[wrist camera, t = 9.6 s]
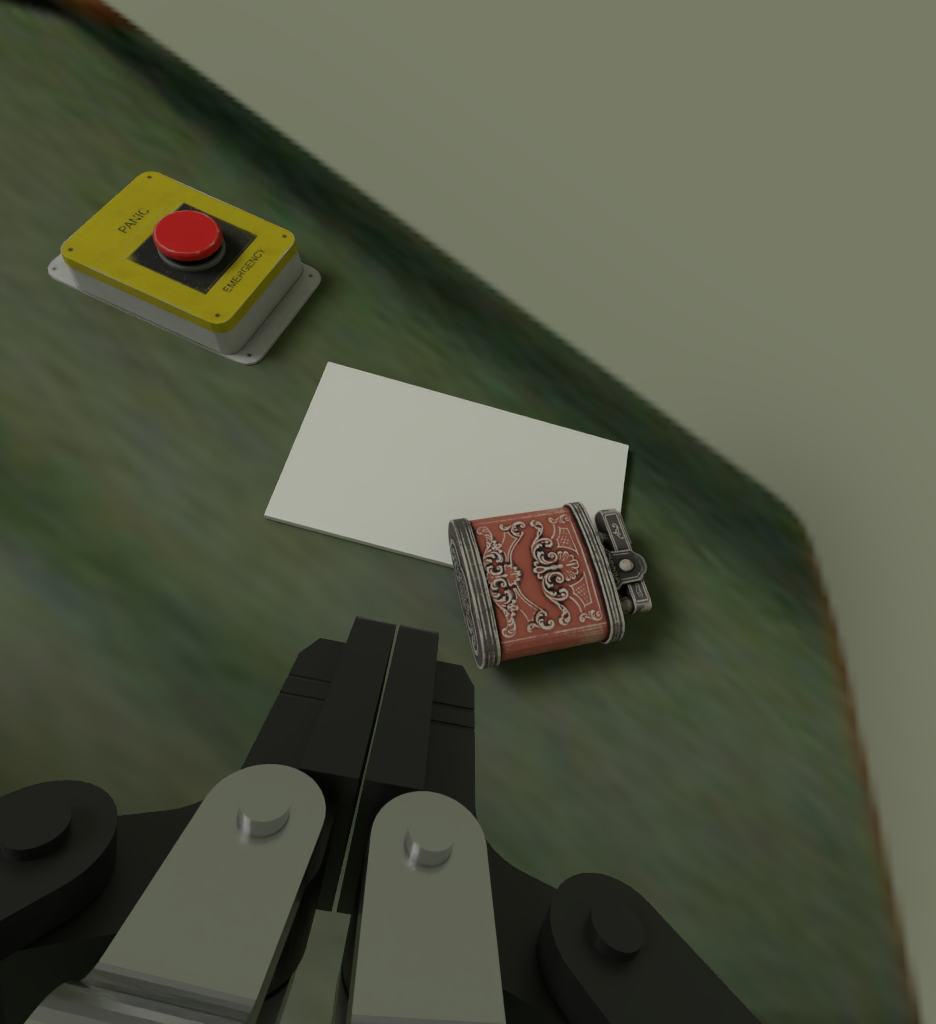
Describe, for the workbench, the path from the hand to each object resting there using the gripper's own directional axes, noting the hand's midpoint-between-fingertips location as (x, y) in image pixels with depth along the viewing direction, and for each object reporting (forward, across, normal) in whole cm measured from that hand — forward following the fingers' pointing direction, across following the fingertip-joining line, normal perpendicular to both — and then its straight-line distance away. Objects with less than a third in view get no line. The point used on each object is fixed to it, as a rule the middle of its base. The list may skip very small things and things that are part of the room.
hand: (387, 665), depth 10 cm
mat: (+24, -2, +3) cm, 24 cm away
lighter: (+17, -3, +7) cm, 19 cm away
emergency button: (+32, +19, -4) cm, 37 cm away
